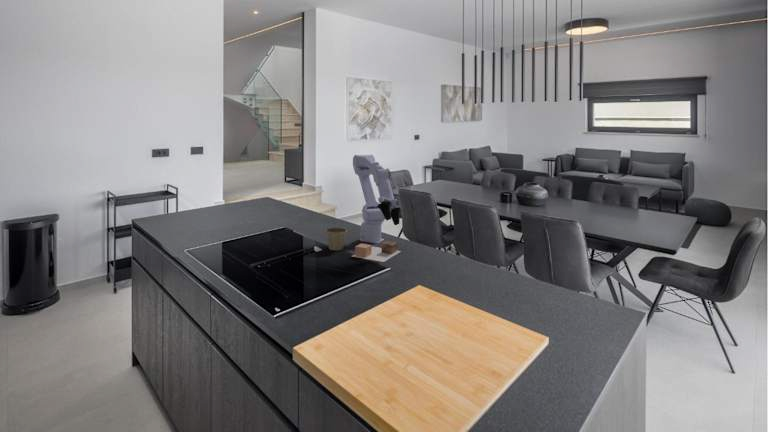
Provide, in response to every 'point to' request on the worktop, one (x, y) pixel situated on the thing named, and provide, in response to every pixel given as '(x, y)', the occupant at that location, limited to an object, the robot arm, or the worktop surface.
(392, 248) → the walnut block
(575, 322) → the worktop surface
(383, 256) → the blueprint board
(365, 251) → the terracotta block
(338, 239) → the flower pot
